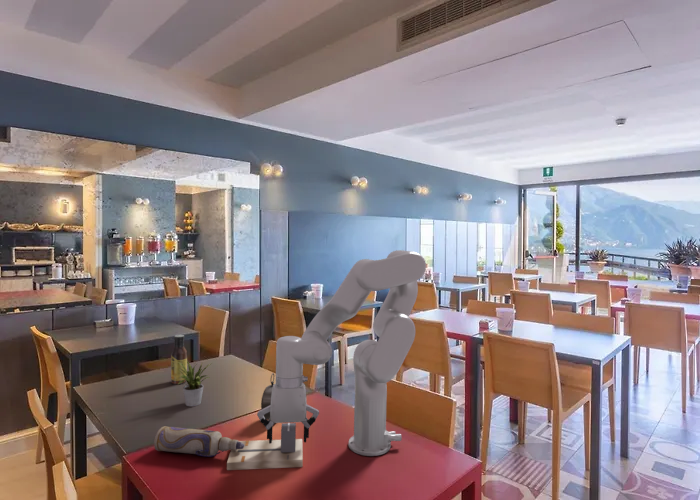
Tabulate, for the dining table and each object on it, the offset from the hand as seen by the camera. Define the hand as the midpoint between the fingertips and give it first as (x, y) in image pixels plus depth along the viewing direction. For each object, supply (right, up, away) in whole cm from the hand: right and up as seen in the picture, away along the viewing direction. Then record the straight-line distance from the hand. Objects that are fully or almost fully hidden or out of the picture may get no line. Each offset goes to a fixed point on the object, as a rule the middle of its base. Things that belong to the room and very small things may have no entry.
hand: (287, 440), depth 123 cm
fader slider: (0, -2, 0) cm, 2 cm away
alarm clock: (-9, -4, +23) cm, 25 cm away
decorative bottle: (-26, -4, 0) cm, 26 cm away
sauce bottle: (-54, -2, +59) cm, 80 cm away
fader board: (-6, -4, 0) cm, 7 cm away
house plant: (-41, -3, +37) cm, 55 cm away
